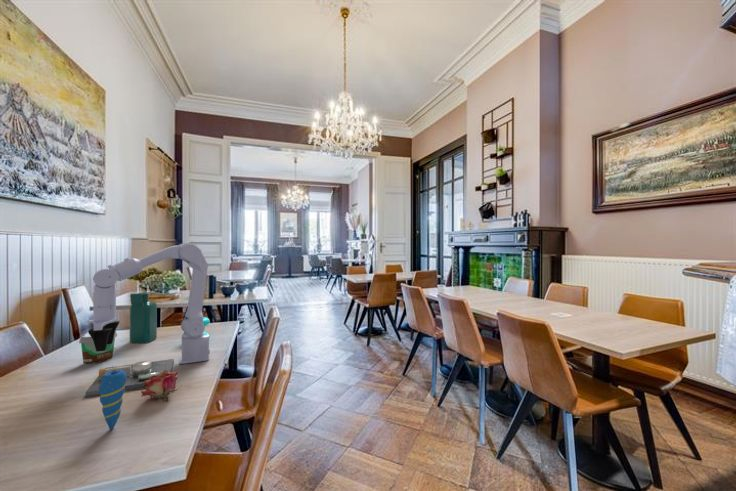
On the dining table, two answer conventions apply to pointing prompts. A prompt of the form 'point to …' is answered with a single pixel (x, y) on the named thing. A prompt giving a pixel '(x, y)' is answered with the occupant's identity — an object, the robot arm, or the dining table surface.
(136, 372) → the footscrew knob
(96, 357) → the food container
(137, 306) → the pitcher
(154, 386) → the flower
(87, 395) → the grey flat square slab
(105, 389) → the ornament
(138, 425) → the dining table surface
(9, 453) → the dining table surface
